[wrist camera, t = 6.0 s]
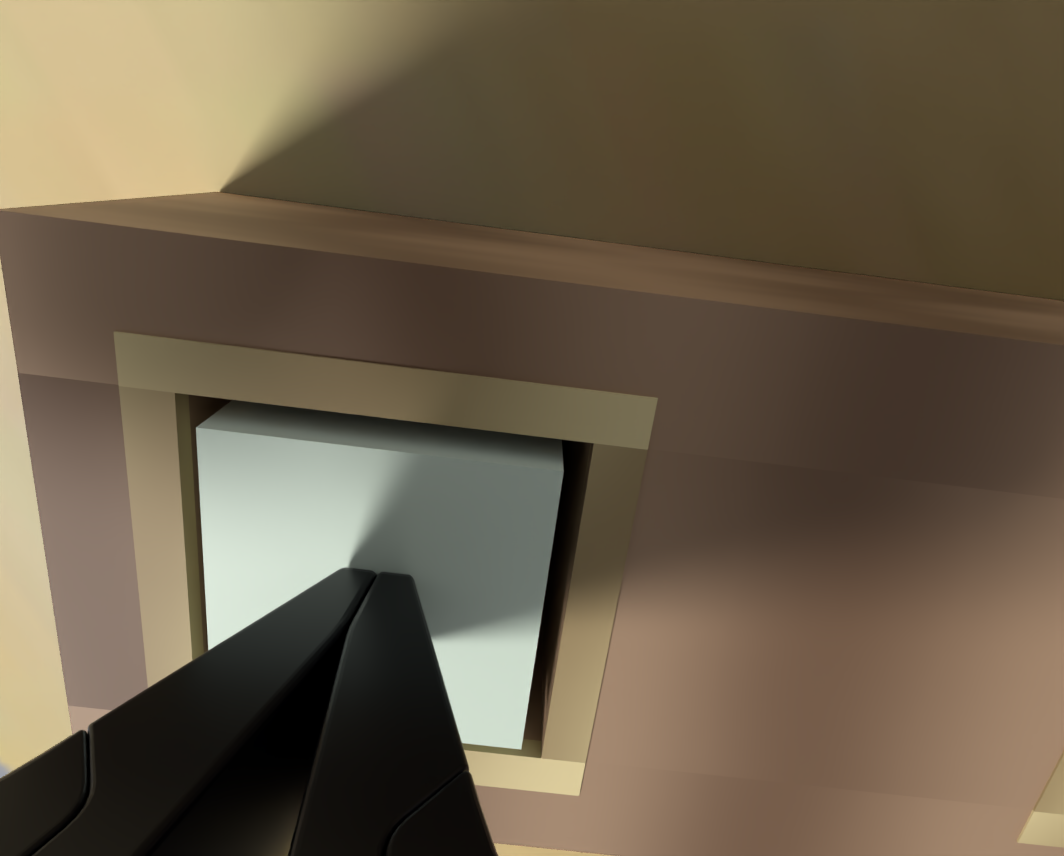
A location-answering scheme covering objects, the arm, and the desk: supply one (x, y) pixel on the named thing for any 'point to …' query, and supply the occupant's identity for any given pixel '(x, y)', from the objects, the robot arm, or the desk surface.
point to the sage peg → (388, 535)
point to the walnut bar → (606, 504)
